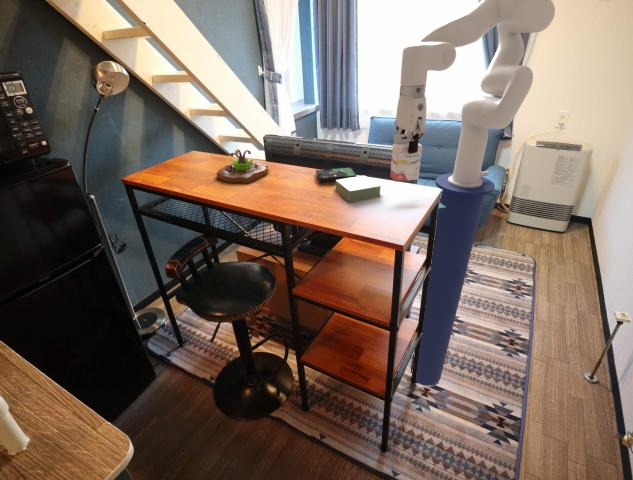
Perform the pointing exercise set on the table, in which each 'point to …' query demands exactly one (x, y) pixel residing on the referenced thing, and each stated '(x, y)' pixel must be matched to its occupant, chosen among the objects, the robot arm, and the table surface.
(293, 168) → the table surface
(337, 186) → the green block
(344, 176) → the disk drive
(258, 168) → the plant
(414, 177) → the ink cartridge box
